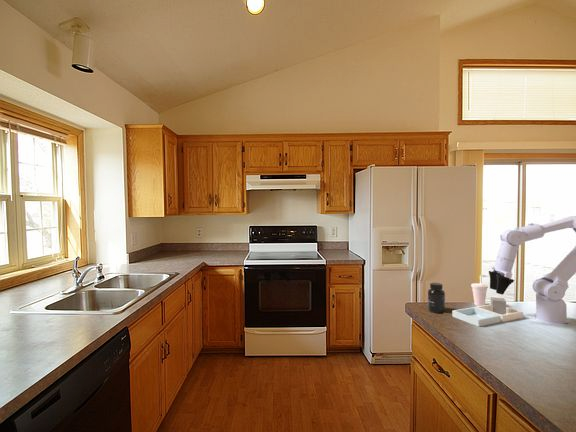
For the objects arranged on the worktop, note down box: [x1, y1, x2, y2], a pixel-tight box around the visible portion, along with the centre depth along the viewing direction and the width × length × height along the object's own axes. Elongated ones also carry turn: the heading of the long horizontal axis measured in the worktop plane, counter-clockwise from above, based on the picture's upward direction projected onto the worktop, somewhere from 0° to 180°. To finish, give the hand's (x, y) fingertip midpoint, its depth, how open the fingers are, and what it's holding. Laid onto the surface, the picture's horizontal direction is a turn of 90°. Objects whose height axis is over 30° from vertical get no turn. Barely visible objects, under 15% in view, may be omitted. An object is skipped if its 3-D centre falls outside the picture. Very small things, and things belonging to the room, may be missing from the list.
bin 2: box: [474, 303, 524, 323], centre depth 119 cm, size 11×11×3 cm
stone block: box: [490, 297, 507, 315], centre depth 119 cm, size 4×4×6 cm
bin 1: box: [451, 306, 502, 327], centre depth 115 cm, size 11×11×3 cm
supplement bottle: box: [427, 282, 446, 314], centre depth 127 cm, size 7×7×12 cm
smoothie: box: [470, 274, 489, 306], centre depth 133 cm, size 6×6×14 cm
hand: (496, 291), depth 118 cm, fingers open, 7 cm apart
